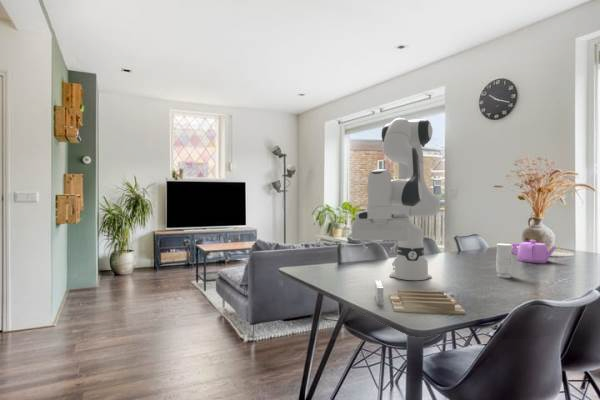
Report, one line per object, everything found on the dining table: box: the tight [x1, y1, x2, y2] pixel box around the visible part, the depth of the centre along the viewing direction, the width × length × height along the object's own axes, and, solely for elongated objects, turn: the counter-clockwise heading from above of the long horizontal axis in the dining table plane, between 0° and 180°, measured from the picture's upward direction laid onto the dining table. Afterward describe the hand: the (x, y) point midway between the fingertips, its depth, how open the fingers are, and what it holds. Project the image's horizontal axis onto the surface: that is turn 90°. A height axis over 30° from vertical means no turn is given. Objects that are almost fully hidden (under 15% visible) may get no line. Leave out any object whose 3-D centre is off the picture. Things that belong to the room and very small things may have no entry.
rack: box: [388, 289, 466, 315], centre depth 130 cm, size 18×22×3 cm
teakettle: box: [512, 239, 557, 264], centre depth 220 cm, size 17×17×12 cm
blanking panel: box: [374, 279, 384, 306], centre depth 136 cm, size 12×2×6 cm, turn 172°
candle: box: [495, 243, 514, 279], centre depth 177 cm, size 7×7×15 cm
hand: (379, 252), depth 136 cm, fingers open, 8 cm apart
